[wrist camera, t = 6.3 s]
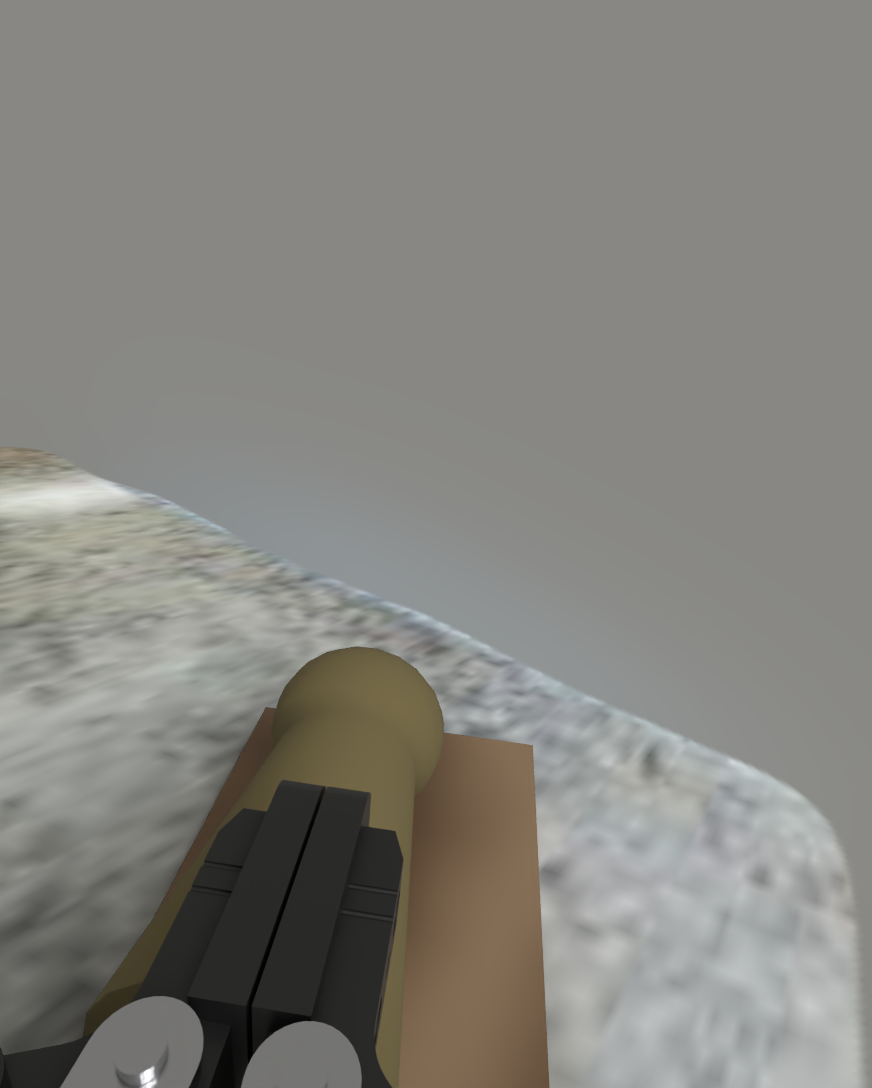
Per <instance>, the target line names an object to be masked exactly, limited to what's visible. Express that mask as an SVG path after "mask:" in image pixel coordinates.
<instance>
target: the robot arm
mask: <svg viewBox="0 0 872 1088" xmlns="http://www.w3.org/2000/svg"><path fill="white" fill-rule="evenodd" d="M370 805H371V793H370V792H363V791H357V790H350V789H343V788H336V787H330V786H328V787H327V788H326V787H325V786H321V785H315V784H308V783H301V782H295V781H288V780H282V781H281V782H280V783H279V785H278V787H277V789H276V791H275V794H274V796H273V798H272V801H271V803H270V805H269V808H268V810H267V812H266V811H260V810H253V809H246V808H243V809H242V810H241V811H240V812H239V813H238V814H237V815H236V816H234V817H233V818H232V819H231V820H230V821H229V822H228V823H227V824H226V825H225V826H224V827H223V828H222V829H220V830H219V832H218V834H217V836H216V838H215V840H214V842H213V844H212V846H211V848H210V850H209V852H208V854H207V856H206V858H205V860H204V864H203V866H201V868H200V870H199V872H198V874H197V876H196V878H195V880H194V882H193V884H192V888H191V890H190V891H189V892H188V894H187V896H186V898H185V900H184V902H183V904H182V906H181V908H180V910H179V912H178V914H177V916H176V918H175V920H174V922H173V924H172V926H171V928H170V930H169V932H168V934H167V936H166V938H165V940H164V942H163V944H162V946H161V948H160V949H159V951H158V953H157V955H156V957H155V959H154V961H153V963H152V965H151V967H150V969H149V971H148V973H147V975H146V977H145V979H144V981H143V983H142V985H141V987H140V989H139V990H138V992H137V994H136V995H135V997H134V998H133V999H132V1001H131V1002H130V1003H129V1004H128V1005H126V1006H124V1007H122V1008H121V1009H119V1010H118V1011H116V1012H115V1013H113V1014H112V1015H111V1016H110V1017H109V1018H108V1019H106V1020H105V1021H104V1022H103V1023H102V1024H101V1025H100V1027H99V1028H98V1029H97V1030H96V1031H95V1032H94V1033H92V1034H90V1035H88V1036H86V1037H84V1038H81V1039H79V1040H76V1041H73V1042H69V1043H66V1044H62V1045H57V1046H51V1047H46V1048H41V1049H36V1050H30V1051H25V1052H20V1053H15V1054H9V1055H4V1056H3V1054H2V1050H1V1048H0V1088H392V1086H391V1085H390V1084H389V1082H388V1081H387V1079H386V1078H385V1076H384V1074H383V1072H382V1070H381V1068H380V1065H379V1062H378V1059H377V1055H376V1045H377V1039H378V1033H379V1027H380V1021H381V1015H382V1009H383V1003H384V997H385V991H386V984H387V979H388V973H389V967H390V961H391V955H392V949H393V943H394V937H395V931H396V925H397V917H398V907H399V898H400V888H401V879H402V870H403V860H404V859H403V856H402V852H401V849H400V845H399V841H398V838H397V834H396V831H393V830H386V829H380V828H373V827H369V818H370Z"/></svg>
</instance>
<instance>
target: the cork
mask: <svg viewBox="0 0 872 1088" xmlns="http://www.w3.org/2000/svg"><path fill="white" fill-rule="evenodd" d="M443 729H444V722H443V716H442V711H441V708H440V705H439V702H438V700H437V697H436V694H435V692H434V690H433V689H432V688H431V687H430V685H429V684H428V683H427V682H426V680H425V679H424V678H423V677H422V675H421V674H420V673H419V672H418V670H417V669H416V668H414V667H413V666H411V665H410V664H408V663H407V662H406V661H404V660H403V659H401V658H400V657H398V656H396V655H393V654H390V653H388V652H385V651H382V650H380V649H375V648H365V647H350V648H345V649H339V650H334V651H330V652H326V653H324V654H322V655H321V656H319V657H317V658H315V659H313V660H311V661H309V662H308V663H307V664H305V665H304V666H303V667H302V668H301V669H300V670H299V671H298V672H297V673H296V675H295V676H294V677H293V678H292V679H291V680H290V682H289V683H288V684H287V685H286V686H285V688H284V690H283V692H282V694H281V696H280V698H279V701H278V705H277V708H276V711H275V715H274V718H273V725H272V731H271V734H272V743H273V750H272V751H271V753H270V754H269V756H268V757H267V758H266V760H265V761H264V763H263V764H262V766H261V767H260V768H259V770H258V771H257V773H256V774H255V775H254V777H253V778H252V780H251V781H250V782H249V784H248V785H247V787H246V788H245V790H244V791H243V792H242V794H241V795H240V797H239V798H238V799H237V801H236V802H235V804H234V805H233V807H232V808H231V809H230V811H229V812H228V814H227V815H226V816H225V818H224V819H223V821H222V822H221V824H220V825H219V826H218V828H217V829H216V831H215V832H214V833H213V835H212V836H211V838H210V839H209V841H208V842H207V843H206V845H205V846H204V848H203V849H202V850H201V852H200V853H199V855H198V856H197V858H196V859H195V860H194V862H193V863H192V865H191V866H190V867H189V869H188V870H187V872H186V873H185V874H184V876H183V877H182V879H181V880H180V882H179V883H178V884H177V886H176V887H175V889H174V890H173V891H172V893H171V894H170V896H169V897H168V899H167V900H166V901H165V903H164V904H163V906H162V907H161V908H160V910H159V911H158V913H157V914H156V916H155V917H154V918H153V920H152V921H151V923H150V924H149V925H148V927H147V928H146V930H145V931H144V933H143V934H142V935H141V937H140V938H139V940H138V941H137V942H136V944H135V945H134V947H133V948H132V950H131V951H130V952H129V954H128V955H127V957H126V958H125V959H124V961H123V962H122V964H121V965H120V966H119V968H118V969H117V971H116V972H115V974H114V975H113V976H112V978H111V979H110V981H109V982H108V983H107V985H106V986H105V988H104V989H103V991H102V992H101V993H100V995H99V996H98V998H97V999H96V1000H95V1002H94V1003H93V1005H92V1006H91V1008H90V1009H89V1010H88V1012H87V1014H86V1020H85V1027H84V1033H83V1038H84V1037H86V1036H88V1035H90V1034H92V1033H94V1032H95V1031H96V1030H97V1029H98V1028H99V1027H100V1025H101V1024H102V1023H103V1022H104V1021H105V1020H106V1019H108V1018H109V1017H110V1016H111V1015H112V1014H113V1013H115V1012H116V1011H118V1010H119V1009H121V1008H122V1007H124V1006H126V1005H128V1004H129V1003H130V1002H131V1001H132V999H133V998H134V997H135V995H136V994H137V992H138V990H139V989H140V987H141V985H142V983H143V981H144V979H145V977H146V975H147V973H148V971H149V969H150V967H151V965H152V963H153V961H154V959H155V957H156V955H157V953H158V951H159V949H160V948H161V946H162V944H163V942H164V940H165V938H166V936H167V934H168V932H169V930H170V928H171V926H172V924H173V922H174V920H175V918H176V916H177V914H178V912H179V910H180V908H181V906H182V904H183V902H184V900H185V898H186V896H187V894H188V892H189V891H190V890H191V888H192V884H193V882H194V880H195V878H196V876H197V874H198V872H199V870H200V868H201V866H203V864H204V860H205V858H206V856H207V854H208V852H209V850H210V848H211V846H212V844H213V842H214V840H215V838H216V836H217V834H218V832H219V830H220V829H222V828H223V827H224V826H225V825H226V824H227V823H228V822H229V821H230V820H231V819H232V818H233V817H234V816H236V815H237V814H238V813H239V812H240V811H241V810H242V809H243V808H246V809H253V810H260V811H266V812H267V810H268V808H269V805H270V803H271V801H272V798H273V796H274V794H275V791H276V789H277V787H278V785H279V783H280V782H281V781H282V780H288V781H295V782H301V783H308V784H315V785H321V786H325V787H326V788H327V787H328V786H330V787H336V788H343V789H350V790H357V791H363V792H370V793H371V805H370V818H369V827H373V828H380V829H386V830H393V831H396V834H397V838H398V841H399V845H400V849H401V852H402V856H403V859H404V860H403V870H402V879H401V888H400V898H399V907H398V917H397V925H396V931H395V937H394V943H393V949H392V955H391V961H390V967H389V973H388V979H387V984H386V991H385V997H384V1003H383V1009H382V1015H381V1021H380V1027H379V1033H378V1039H377V1045H376V1055H377V1059H378V1062H379V1065H380V1068H381V1070H382V1072H383V1074H384V1076H385V1078H386V1079H387V1081H388V1082H389V1084H390V1085H391V1086H392V1088H398V1087H399V1069H400V1050H401V1032H402V1014H403V995H404V977H405V958H406V940H407V922H408V903H409V885H410V866H411V848H412V830H413V811H414V797H415V796H416V795H417V794H418V793H419V792H420V791H422V790H423V789H424V788H425V786H426V784H427V782H428V781H429V779H430V777H431V775H432V773H433V771H434V769H435V767H436V765H437V763H438V761H439V759H440V756H441V751H442V746H443Z"/></svg>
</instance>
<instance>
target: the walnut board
mask: <svg viewBox="0 0 872 1088" xmlns="http://www.w3.org/2000/svg"><path fill="white" fill-rule="evenodd" d="M275 711H276V709H275V708H268V707H266V708H265V710H264V712H263V714H262V716H261V717H260V719H259V721H258V723H257V725H256V727H255V729H254V731H253V732H252V734H251V736H250V738H249V740H248V742H247V744H246V746H245V748H244V749H243V751H242V753H241V755H240V757H239V759H238V761H237V763H236V764H235V766H234V768H233V770H232V772H231V774H230V776H229V778H228V779H227V781H226V783H225V785H224V787H223V789H222V791H221V793H220V794H219V796H218V798H217V800H216V802H215V804H214V806H213V808H212V810H211V811H210V813H209V815H208V817H207V819H206V821H205V823H204V825H203V826H202V828H201V830H200V832H199V834H198V836H197V838H196V840H195V841H194V843H193V845H192V847H191V849H190V851H189V853H188V855H187V856H186V858H185V860H184V862H183V864H182V866H181V868H180V870H179V872H178V873H177V875H176V877H175V879H174V881H173V883H172V885H171V887H170V888H169V890H168V892H167V894H166V896H165V898H164V900H163V902H162V903H161V905H160V907H159V909H158V911H159V910H160V908H161V907H162V906H163V904H164V903H165V901H166V900H167V899H168V897H169V896H170V894H171V893H172V891H173V890H174V889H175V887H176V886H177V884H178V883H179V882H180V880H181V879H182V877H183V876H184V874H185V873H186V872H187V870H188V869H189V867H190V866H191V865H192V863H193V862H194V860H195V859H196V858H197V856H198V855H199V853H200V852H201V850H202V849H203V848H204V846H205V845H206V843H207V842H208V841H209V839H210V838H211V836H212V835H213V833H214V832H215V831H216V829H217V828H218V826H219V825H220V824H221V822H222V821H223V819H224V818H225V816H226V815H227V814H228V812H229V811H230V809H231V808H232V807H233V805H234V804H235V802H236V801H237V799H238V798H239V797H240V795H241V794H242V792H243V791H244V790H245V788H246V787H247V785H248V784H249V782H250V781H251V780H252V778H253V777H254V775H255V774H256V773H257V771H258V770H259V768H260V767H261V766H262V764H263V763H264V761H265V760H266V758H267V757H268V756H269V754H270V753H271V751H272V750H273V743H272V734H271V731H272V725H273V718H274V715H275ZM158 911H157V913H158ZM157 913H156V914H157ZM155 916H156V915H155ZM398 1088H549V1072H548V1051H547V1031H546V1010H545V989H544V969H543V948H542V928H541V907H540V886H539V866H538V845H537V825H536V804H535V783H534V763H533V745H527V744H520V743H513V742H506V741H499V740H492V739H485V738H478V737H471V736H464V735H457V734H450V733H443V746H442V751H441V756H440V759H439V761H438V763H437V765H436V767H435V769H434V771H433V773H432V775H431V777H430V779H429V781H428V782H427V784H426V786H425V788H424V789H423V790H422V791H420V792H419V793H418V794H417V795H416V796H415V797H414V811H413V830H412V848H411V866H410V885H409V903H408V922H407V940H406V958H405V977H404V995H403V1014H402V1032H401V1050H400V1069H399V1087H398Z"/></svg>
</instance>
